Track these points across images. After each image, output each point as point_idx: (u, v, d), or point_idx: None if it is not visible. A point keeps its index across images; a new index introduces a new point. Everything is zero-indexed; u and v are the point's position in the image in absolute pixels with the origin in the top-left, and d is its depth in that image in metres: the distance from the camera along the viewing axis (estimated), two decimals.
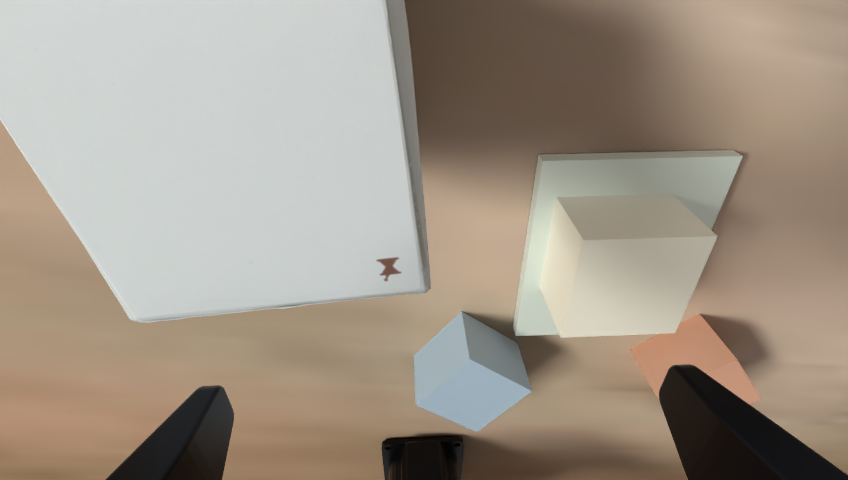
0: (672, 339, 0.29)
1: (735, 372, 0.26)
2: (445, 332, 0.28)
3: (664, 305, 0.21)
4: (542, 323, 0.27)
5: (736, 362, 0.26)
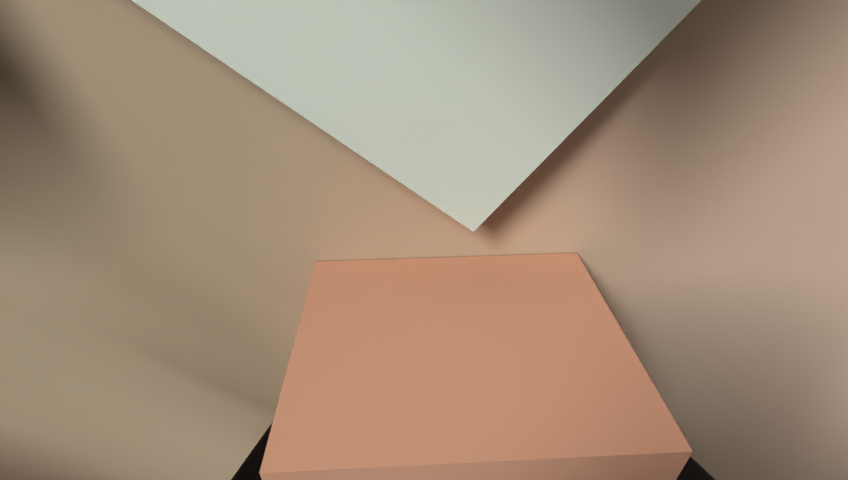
0: (465, 289, 0.08)
1: None
2: None
3: None
4: None
5: (677, 463, 0.05)
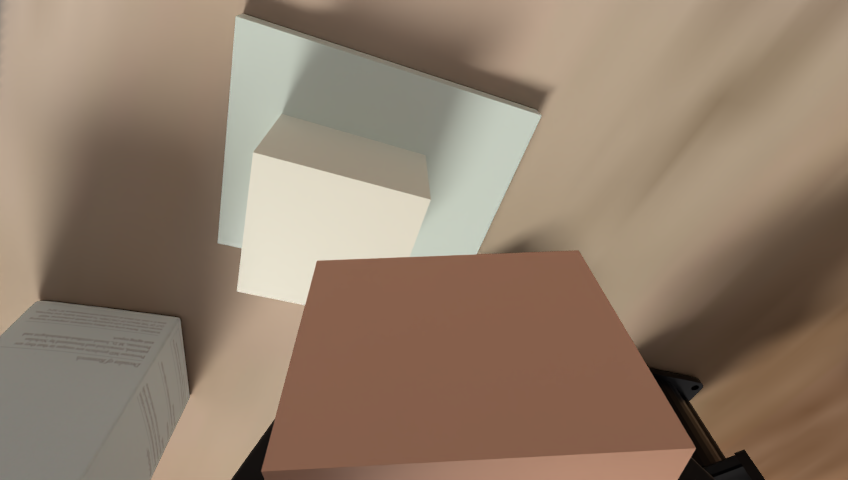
0: (466, 288, 0.08)
1: None
2: None
3: (367, 213, 0.15)
4: None
5: (680, 459, 0.05)
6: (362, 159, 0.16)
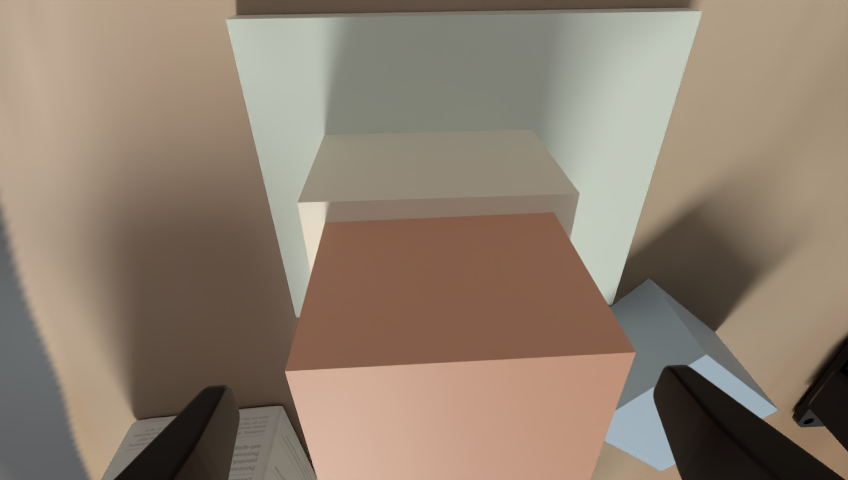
0: (454, 242, 0.09)
1: (589, 403, 0.07)
2: None
3: None
4: (594, 272, 0.16)
5: (624, 363, 0.06)
6: (452, 163, 0.11)
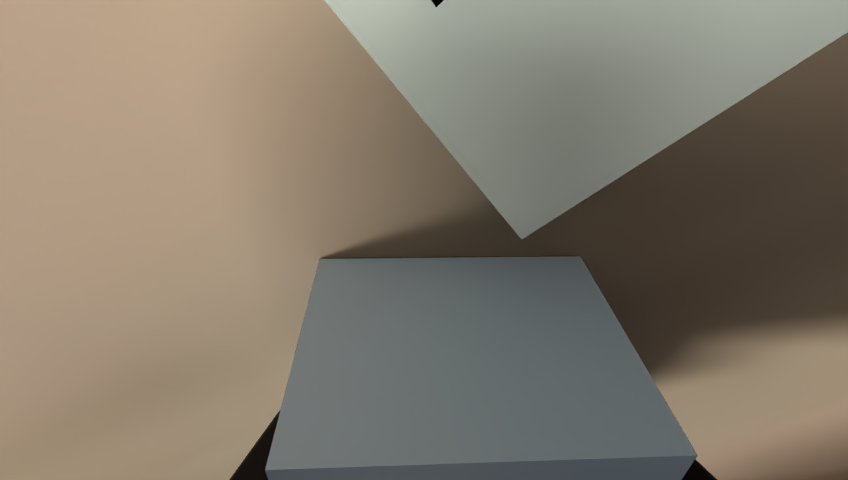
0: None
1: None
2: None
3: None
4: (579, 133, 0.06)
5: None
6: None
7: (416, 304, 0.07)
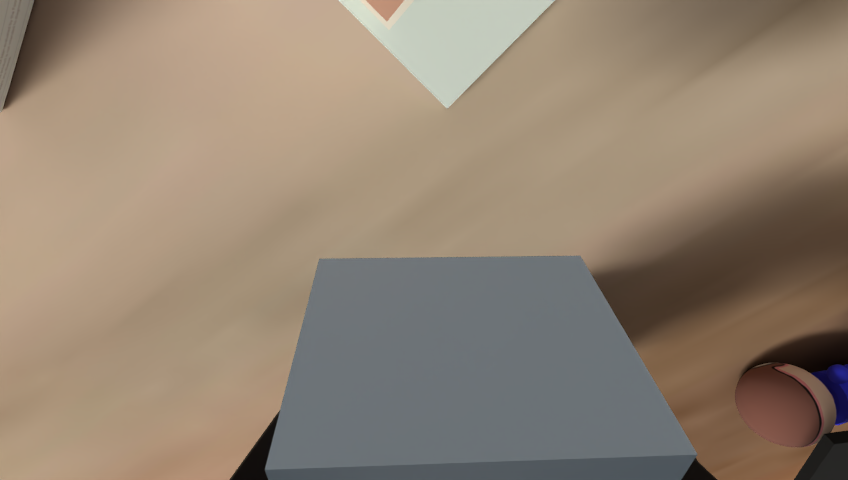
0: None
1: None
2: None
3: None
4: (458, 61, 0.17)
5: None
6: None
7: (416, 304, 0.07)
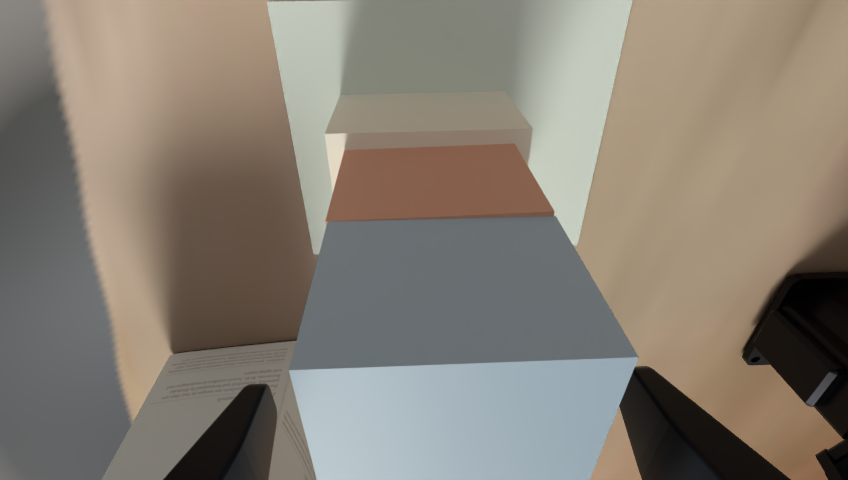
0: (439, 160, 0.12)
1: None
2: None
3: None
4: (561, 215, 0.19)
5: None
6: (439, 111, 0.14)
7: (411, 254, 0.08)
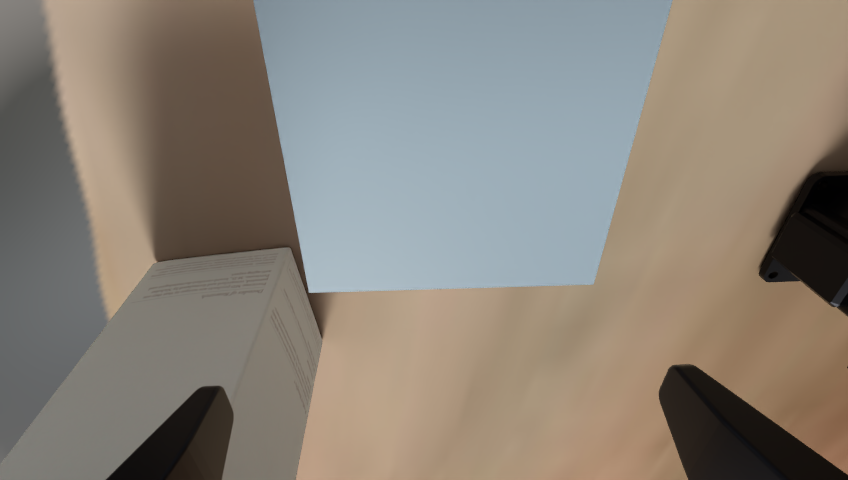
0: None
1: None
2: None
3: None
4: None
5: None
6: None
7: None
